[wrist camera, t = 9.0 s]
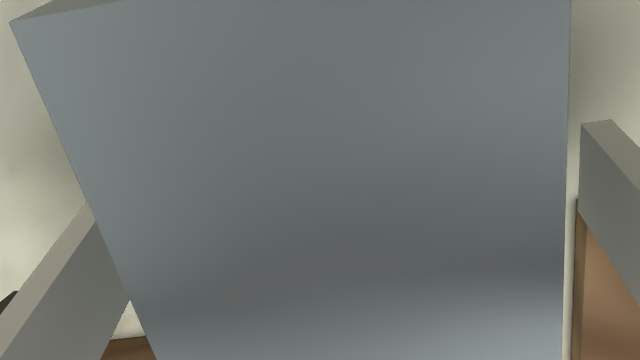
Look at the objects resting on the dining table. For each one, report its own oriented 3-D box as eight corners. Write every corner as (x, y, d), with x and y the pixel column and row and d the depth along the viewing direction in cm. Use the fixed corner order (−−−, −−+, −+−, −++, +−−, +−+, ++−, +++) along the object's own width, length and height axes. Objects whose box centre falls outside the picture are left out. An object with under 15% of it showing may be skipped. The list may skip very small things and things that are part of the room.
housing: (146, -45, 16) (8, 22, 10) (475, -109, 15) (573, -84, 9) (260, 326, 23) (225, 515, 16) (494, 301, 22) (557, 493, 15)
